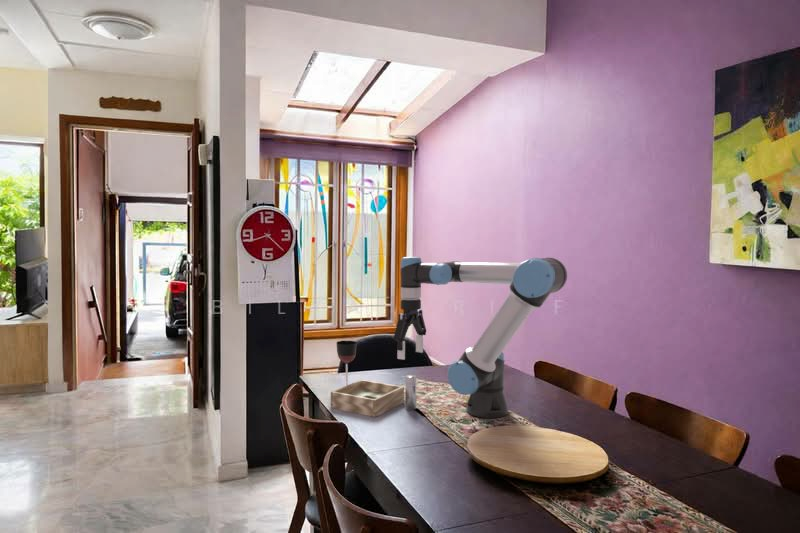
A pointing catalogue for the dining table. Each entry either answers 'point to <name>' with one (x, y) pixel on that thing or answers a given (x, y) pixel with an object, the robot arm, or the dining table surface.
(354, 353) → the wineglass
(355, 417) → the dining table surface
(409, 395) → the peg
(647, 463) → the dining table surface
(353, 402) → the box
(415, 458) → the dining table surface
